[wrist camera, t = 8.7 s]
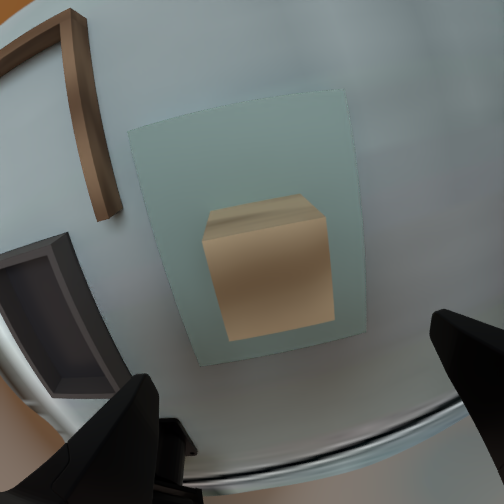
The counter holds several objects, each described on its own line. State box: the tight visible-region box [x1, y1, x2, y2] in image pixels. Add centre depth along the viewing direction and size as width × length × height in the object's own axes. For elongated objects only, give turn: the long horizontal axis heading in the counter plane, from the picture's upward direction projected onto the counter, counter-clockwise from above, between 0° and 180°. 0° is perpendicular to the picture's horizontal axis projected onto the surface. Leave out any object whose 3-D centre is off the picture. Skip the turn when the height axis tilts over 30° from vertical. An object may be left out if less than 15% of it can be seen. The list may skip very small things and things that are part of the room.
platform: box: [127, 89, 366, 367], centre depth 19 cm, size 16×12×2 cm
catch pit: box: [0, 232, 132, 399], centre depth 20 cm, size 13×8×2 cm, turn 11°
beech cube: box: [202, 194, 335, 342], centre depth 15 cm, size 5×5×5 cm
